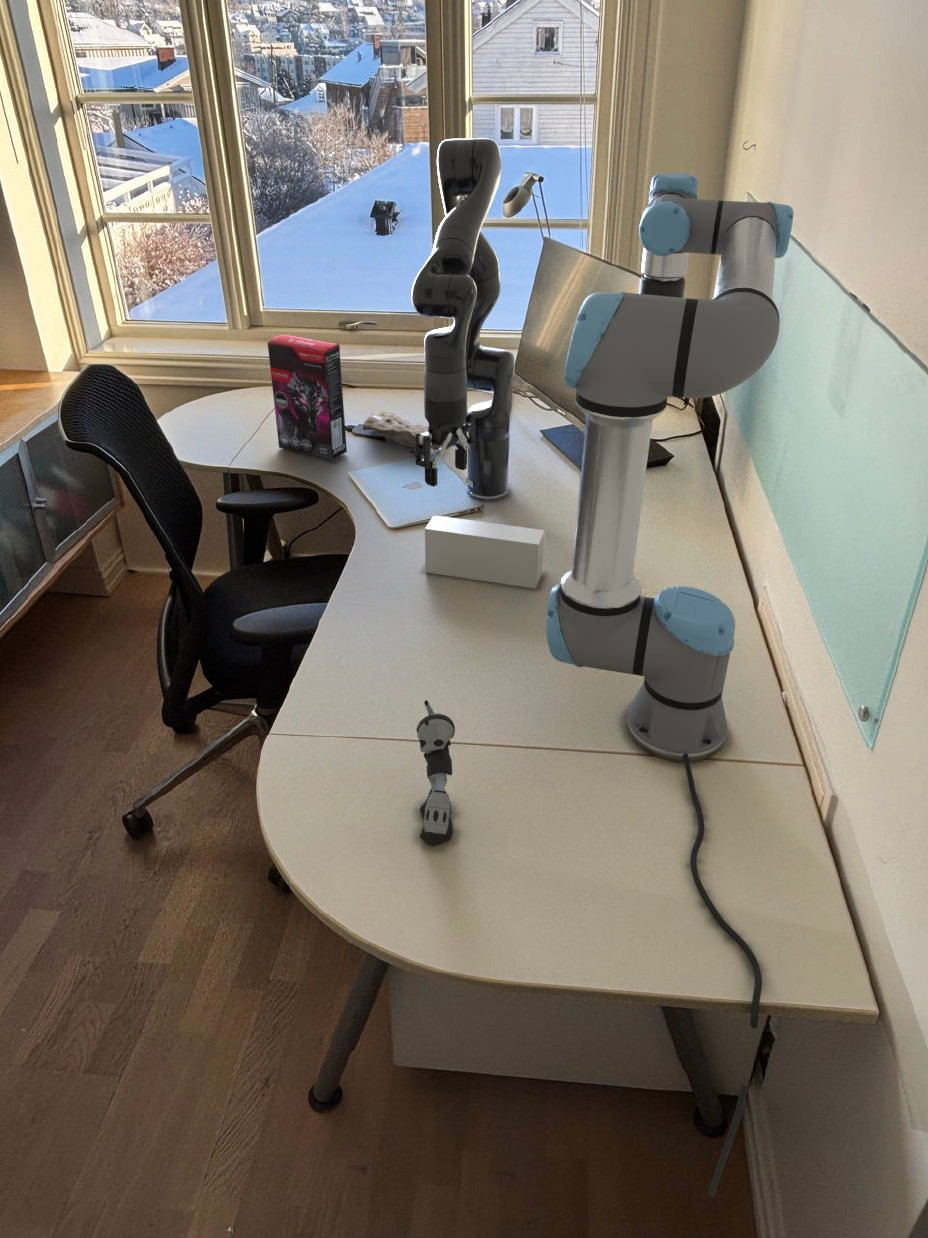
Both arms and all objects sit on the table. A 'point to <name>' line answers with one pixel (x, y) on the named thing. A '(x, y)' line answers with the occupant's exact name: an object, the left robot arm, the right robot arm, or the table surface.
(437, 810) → the robot
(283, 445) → the graphics card box
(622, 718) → the table surface
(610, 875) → the table surface
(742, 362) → the right robot arm
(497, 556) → the box
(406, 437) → the stone
